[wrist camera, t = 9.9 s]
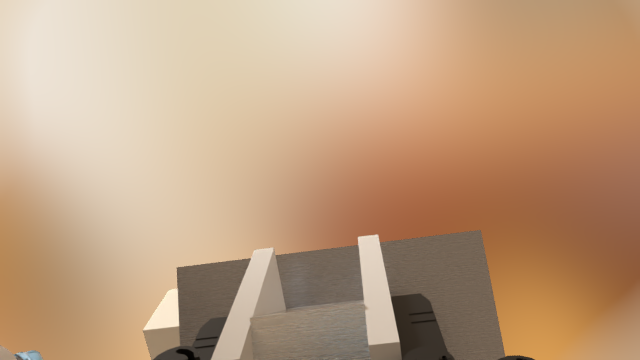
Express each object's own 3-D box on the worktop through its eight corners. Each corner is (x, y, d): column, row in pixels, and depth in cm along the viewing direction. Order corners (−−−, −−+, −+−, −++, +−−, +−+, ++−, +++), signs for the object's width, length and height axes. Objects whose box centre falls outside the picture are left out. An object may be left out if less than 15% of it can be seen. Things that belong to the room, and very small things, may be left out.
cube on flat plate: (219, 404, 25) (211, 271, 27) (485, 377, 24) (460, 241, 26) (62, 521, 12) (67, 254, 14) (613, 475, 11) (547, 193, 13)
